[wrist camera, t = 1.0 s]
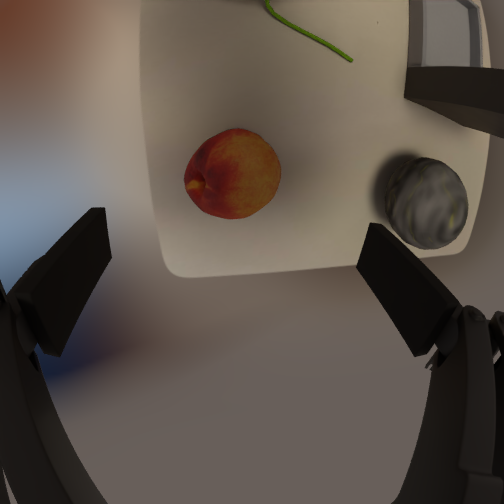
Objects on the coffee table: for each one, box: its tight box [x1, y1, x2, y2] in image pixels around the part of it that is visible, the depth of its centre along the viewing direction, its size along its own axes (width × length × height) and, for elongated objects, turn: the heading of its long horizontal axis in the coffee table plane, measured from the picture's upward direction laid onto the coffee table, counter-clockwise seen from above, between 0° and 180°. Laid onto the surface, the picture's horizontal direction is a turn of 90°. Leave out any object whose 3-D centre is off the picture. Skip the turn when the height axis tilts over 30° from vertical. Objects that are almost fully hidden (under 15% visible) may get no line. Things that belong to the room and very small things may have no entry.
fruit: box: [184, 128, 281, 219], centre depth 23 cm, size 8×8×8 cm
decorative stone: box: [385, 158, 468, 250], centre depth 25 cm, size 10×10×10 cm
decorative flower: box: [265, 0, 353, 62], centre depth 16 cm, size 8×6×15 cm
